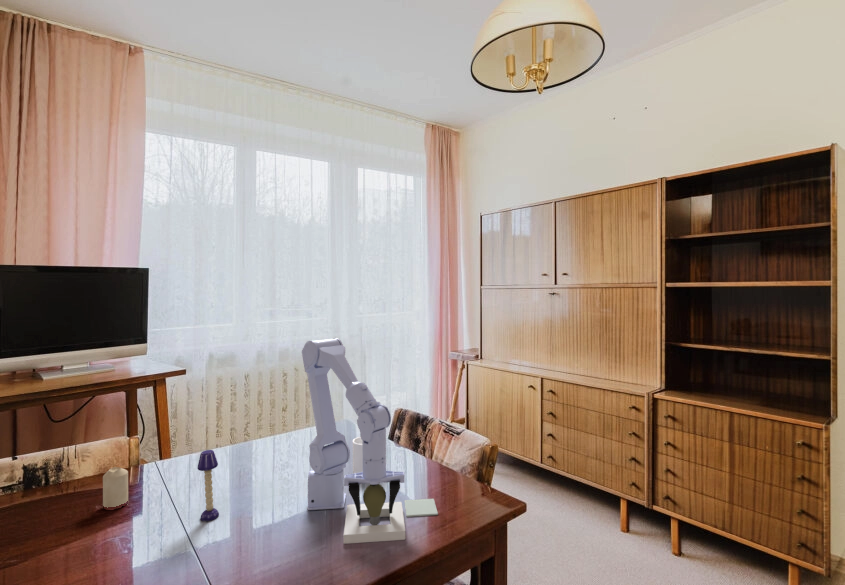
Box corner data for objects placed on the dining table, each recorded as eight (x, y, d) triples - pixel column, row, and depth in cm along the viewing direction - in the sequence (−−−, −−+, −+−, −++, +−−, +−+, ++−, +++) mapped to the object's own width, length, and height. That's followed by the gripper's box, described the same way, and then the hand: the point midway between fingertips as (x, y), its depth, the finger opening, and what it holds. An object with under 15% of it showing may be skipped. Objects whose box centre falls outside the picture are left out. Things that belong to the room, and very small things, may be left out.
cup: (376, 461, 146) (376, 431, 146) (380, 476, 134) (380, 443, 134) (351, 463, 144) (351, 433, 144) (353, 478, 133) (353, 445, 133)
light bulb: (382, 532, 103) (382, 490, 103) (359, 530, 104) (359, 488, 104) (388, 520, 108) (388, 480, 108) (367, 518, 109) (367, 478, 109)
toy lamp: (197, 523, 107) (197, 456, 107) (197, 515, 111) (197, 450, 111) (219, 518, 109) (218, 452, 109) (218, 510, 114) (218, 446, 114)
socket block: (343, 543, 98) (343, 534, 98) (347, 512, 112) (347, 504, 112) (405, 539, 100) (405, 530, 100) (401, 509, 114) (401, 501, 114)
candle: (132, 503, 118) (132, 466, 118) (111, 512, 113) (110, 474, 113) (120, 499, 120) (120, 463, 120) (98, 508, 115) (98, 470, 115)
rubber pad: (406, 516, 110) (406, 515, 110) (404, 501, 118) (404, 500, 118) (437, 515, 111) (437, 513, 111) (433, 500, 119) (433, 498, 119)
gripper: (343, 464, 101) (343, 522, 101) (405, 461, 103) (405, 518, 103) (345, 453, 108) (345, 508, 108) (403, 450, 110) (403, 504, 110)
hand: (374, 512), depth 106 cm, fingers open, 7 cm apart
